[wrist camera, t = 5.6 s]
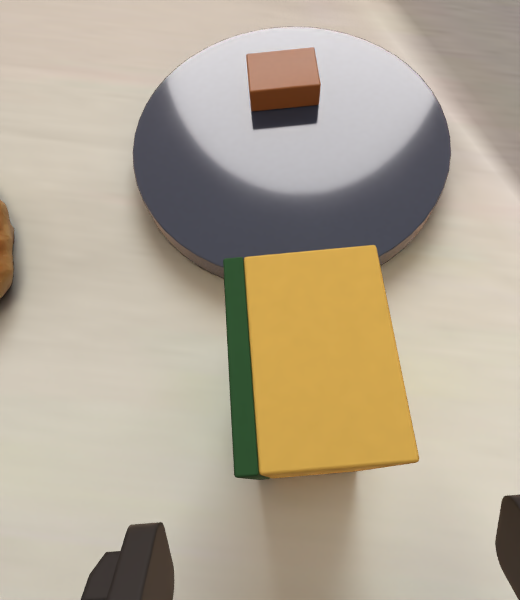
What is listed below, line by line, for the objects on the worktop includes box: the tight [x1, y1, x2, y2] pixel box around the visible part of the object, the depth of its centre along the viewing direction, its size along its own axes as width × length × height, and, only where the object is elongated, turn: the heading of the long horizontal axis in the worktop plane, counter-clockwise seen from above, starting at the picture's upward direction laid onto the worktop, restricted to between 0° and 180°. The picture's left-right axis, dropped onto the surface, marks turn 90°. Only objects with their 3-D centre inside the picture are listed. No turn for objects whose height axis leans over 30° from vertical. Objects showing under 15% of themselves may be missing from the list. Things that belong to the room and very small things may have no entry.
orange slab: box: [246, 47, 321, 111], centre depth 26 cm, size 4×3×2 cm
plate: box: [133, 27, 451, 278], centre depth 26 cm, size 18×18×2 cm
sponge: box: [223, 245, 419, 480], centre depth 16 cm, size 4×6×10 cm
